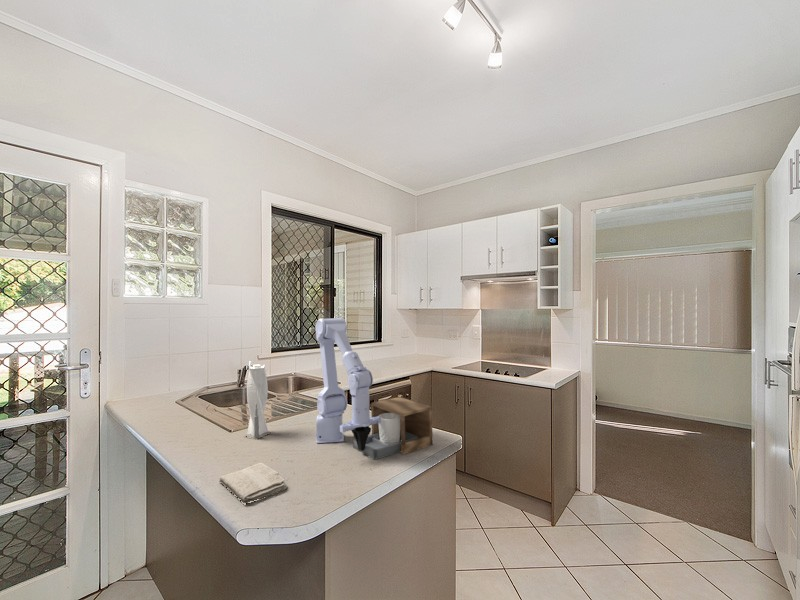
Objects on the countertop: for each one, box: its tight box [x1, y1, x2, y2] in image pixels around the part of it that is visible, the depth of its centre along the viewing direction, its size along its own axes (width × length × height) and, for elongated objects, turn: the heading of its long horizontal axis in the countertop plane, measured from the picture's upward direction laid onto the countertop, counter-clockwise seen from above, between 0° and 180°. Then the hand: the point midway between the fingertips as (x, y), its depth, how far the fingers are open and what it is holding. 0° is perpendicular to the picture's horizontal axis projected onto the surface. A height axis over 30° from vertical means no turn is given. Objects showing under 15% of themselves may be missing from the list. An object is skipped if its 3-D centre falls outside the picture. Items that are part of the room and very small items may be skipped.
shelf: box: [370, 396, 434, 455], centre depth 126 cm, size 13×18×13 cm
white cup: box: [378, 413, 401, 445], centre depth 123 cm, size 8×8×10 cm
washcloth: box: [218, 462, 287, 504], centre depth 96 cm, size 12×18×3 cm, turn 47°
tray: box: [352, 429, 420, 461], centre depth 122 cm, size 19×13×3 cm
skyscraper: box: [245, 360, 272, 440], centre depth 136 cm, size 8×8×28 cm
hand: (361, 449), depth 116 cm, fingers closed
